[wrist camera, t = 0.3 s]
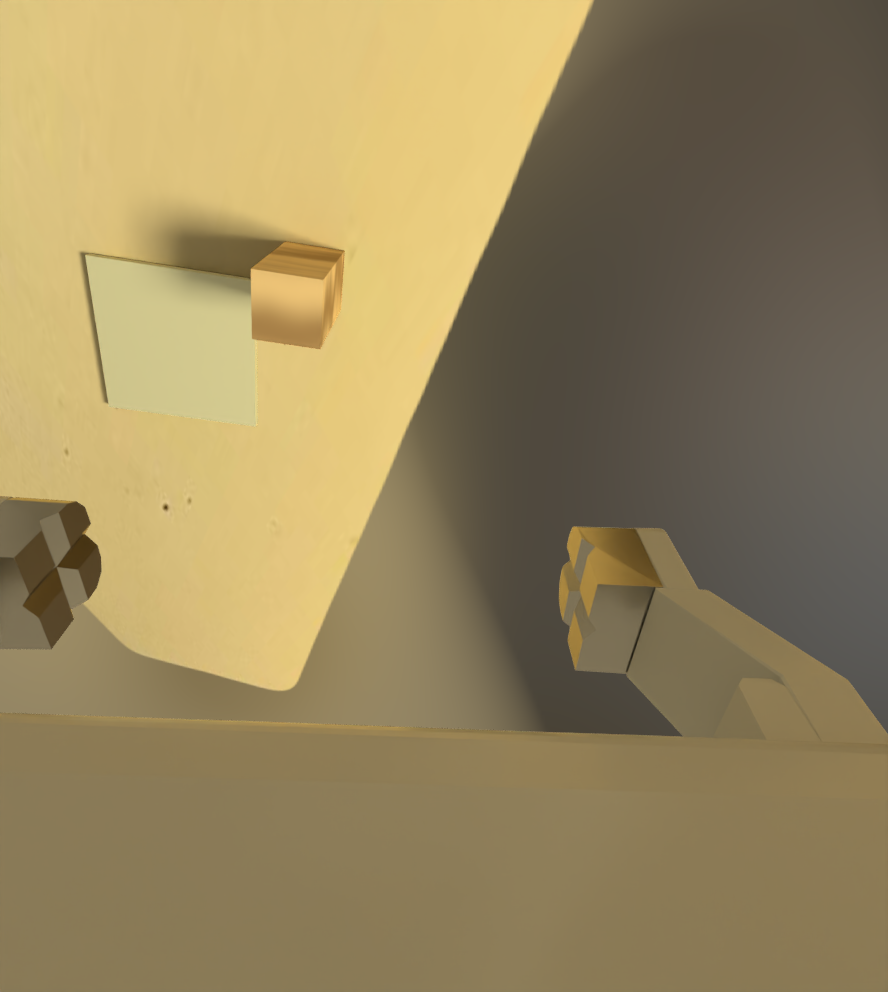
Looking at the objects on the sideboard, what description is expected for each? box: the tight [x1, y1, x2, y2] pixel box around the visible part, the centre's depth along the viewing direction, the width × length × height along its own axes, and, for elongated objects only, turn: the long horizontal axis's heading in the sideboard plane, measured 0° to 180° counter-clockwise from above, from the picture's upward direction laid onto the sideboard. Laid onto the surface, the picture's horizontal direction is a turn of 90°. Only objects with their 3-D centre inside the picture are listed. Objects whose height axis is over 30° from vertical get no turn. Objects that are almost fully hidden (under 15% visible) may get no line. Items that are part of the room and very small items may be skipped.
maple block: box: [251, 241, 345, 349], centre depth 47 cm, size 5×5×11 cm
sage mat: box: [85, 253, 258, 427], centre depth 55 cm, size 14×14×1 cm
